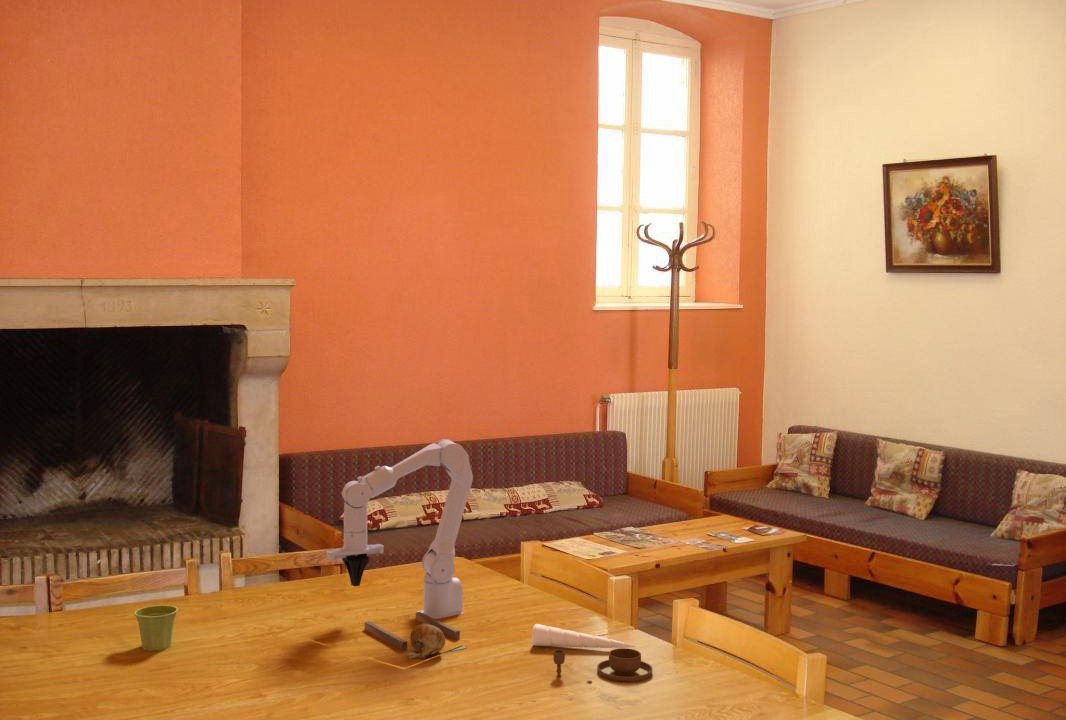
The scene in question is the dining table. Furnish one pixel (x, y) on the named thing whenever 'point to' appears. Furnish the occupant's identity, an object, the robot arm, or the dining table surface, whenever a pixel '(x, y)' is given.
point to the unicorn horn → (571, 639)
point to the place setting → (615, 665)
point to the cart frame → (402, 643)
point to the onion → (426, 640)
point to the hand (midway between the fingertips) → (355, 585)
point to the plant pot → (156, 626)
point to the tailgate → (455, 649)
